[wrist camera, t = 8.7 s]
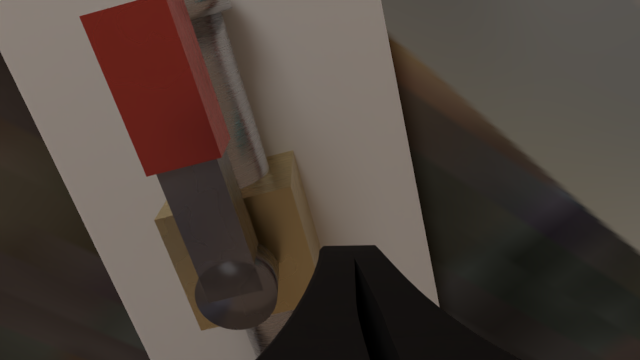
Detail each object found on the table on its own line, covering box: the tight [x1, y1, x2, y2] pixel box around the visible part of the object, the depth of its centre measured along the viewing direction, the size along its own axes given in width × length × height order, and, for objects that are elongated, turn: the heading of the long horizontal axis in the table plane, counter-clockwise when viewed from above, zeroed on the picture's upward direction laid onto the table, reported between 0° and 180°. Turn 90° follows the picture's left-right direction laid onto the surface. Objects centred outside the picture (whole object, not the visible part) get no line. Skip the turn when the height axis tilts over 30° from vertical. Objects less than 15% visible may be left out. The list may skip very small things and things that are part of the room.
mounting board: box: [0, 0, 439, 360], centre depth 21 cm, size 22×14×1 cm, turn 14°
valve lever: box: [79, 0, 279, 330], centre depth 15 cm, size 10×3×2 cm, turn 14°
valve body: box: [154, 0, 321, 358], centre depth 19 cm, size 18×5×4 cm, turn 14°
